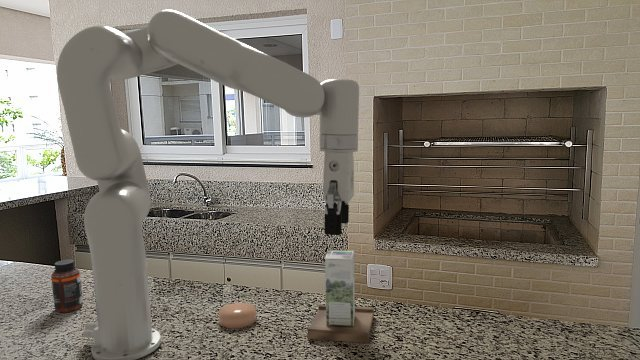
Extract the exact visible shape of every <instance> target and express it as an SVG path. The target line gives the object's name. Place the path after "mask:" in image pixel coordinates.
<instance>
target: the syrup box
mask: <svg viewBox="0 0 640 360" xmlns="http://www.w3.org/2000/svg"><path fill="white" fill-rule="evenodd" d="M355 255H356V254H355V250H327V251H326V254H325V257H324V269H325V270H324V271H325V272H324V274H325V275H324V276H325V279H324V282H325V305H326V325H327V326H354V319H355V307H356V303H355V300H356V299H355V298H356V297H355V287H356V285H355V284H356V283H355V281H356V280H355V272H356V271H355V266H356V265H355V260H356V259H355Z"/></svg>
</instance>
